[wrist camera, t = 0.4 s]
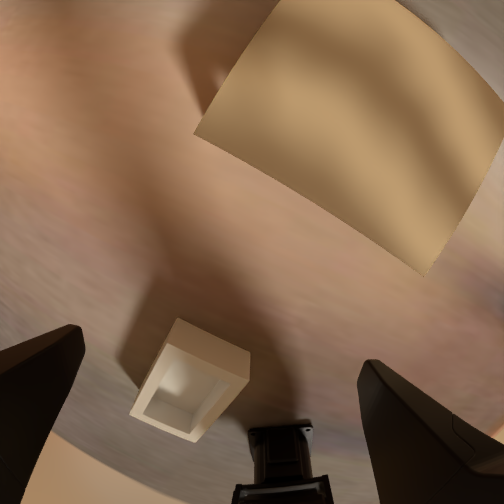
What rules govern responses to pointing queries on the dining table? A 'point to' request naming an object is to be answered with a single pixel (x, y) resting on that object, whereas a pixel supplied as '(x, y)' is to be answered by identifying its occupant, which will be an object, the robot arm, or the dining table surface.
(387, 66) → the oak shelf
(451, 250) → the dining table surface
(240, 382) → the beige tray
